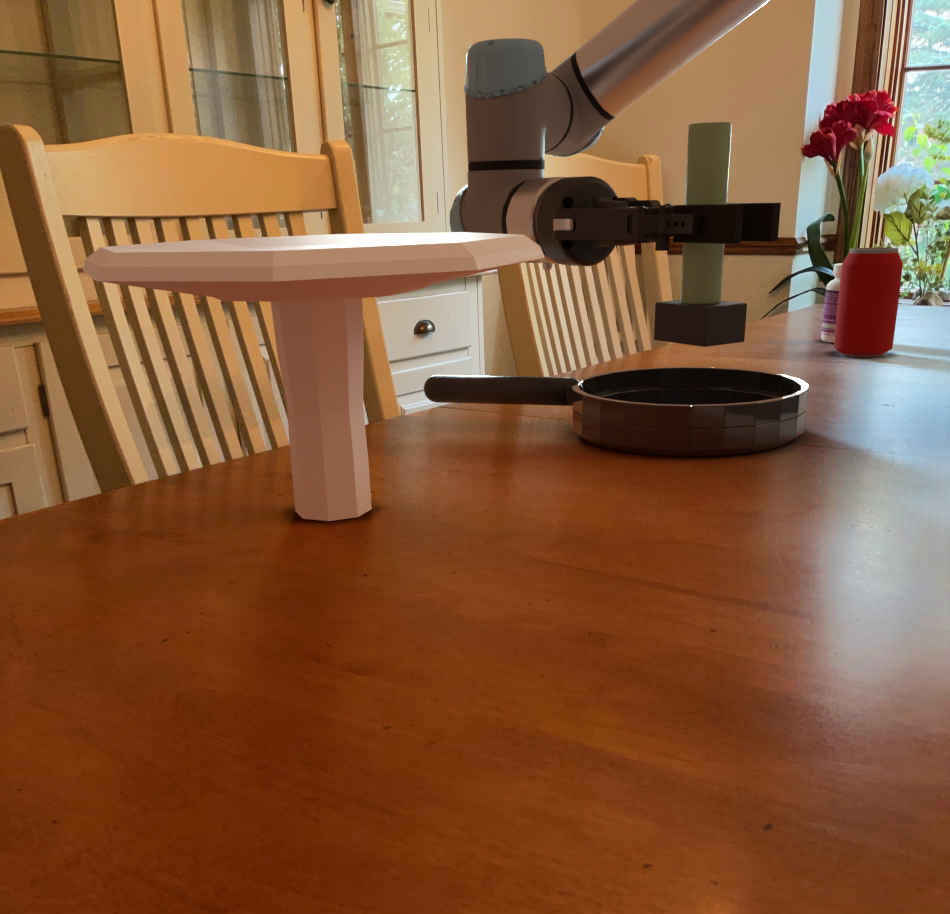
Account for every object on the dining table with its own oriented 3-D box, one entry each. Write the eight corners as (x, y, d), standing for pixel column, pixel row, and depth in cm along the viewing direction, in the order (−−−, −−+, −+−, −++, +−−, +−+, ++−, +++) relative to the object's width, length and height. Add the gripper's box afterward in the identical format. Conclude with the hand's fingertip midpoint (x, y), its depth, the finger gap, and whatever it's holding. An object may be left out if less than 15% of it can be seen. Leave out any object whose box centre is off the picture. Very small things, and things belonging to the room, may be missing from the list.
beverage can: (896, 351, 127) (909, 247, 122) (885, 359, 122) (899, 250, 117) (839, 349, 130) (850, 247, 126) (826, 356, 125) (837, 250, 120)
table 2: (35, 518, 69) (-18, 250, 63) (362, 444, 87) (347, 231, 81) (284, 622, 51) (245, 258, 44) (633, 502, 69) (641, 231, 62)
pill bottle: (848, 345, 134) (857, 265, 130) (812, 341, 137) (819, 264, 134) (871, 340, 137) (880, 262, 133) (835, 337, 141) (843, 261, 137)
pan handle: (585, 403, 91) (586, 375, 90) (580, 408, 89) (580, 379, 88) (429, 399, 95) (428, 372, 94) (420, 404, 93) (419, 376, 92)
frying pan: (804, 413, 94) (808, 368, 92) (802, 463, 77) (808, 409, 75) (594, 408, 99) (594, 365, 98) (549, 453, 82) (549, 402, 81)
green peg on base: (653, 340, 86) (661, 125, 80) (692, 335, 89) (703, 126, 82) (704, 347, 82) (717, 120, 76) (744, 341, 84) (760, 120, 78)
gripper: (632, 260, 101) (826, 270, 83) (492, 270, 93) (673, 283, 75) (635, 176, 98) (836, 166, 80) (491, 178, 90) (678, 169, 72)
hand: (756, 223), depth 77 cm, fingers closed on green peg on base, 3 cm apart
